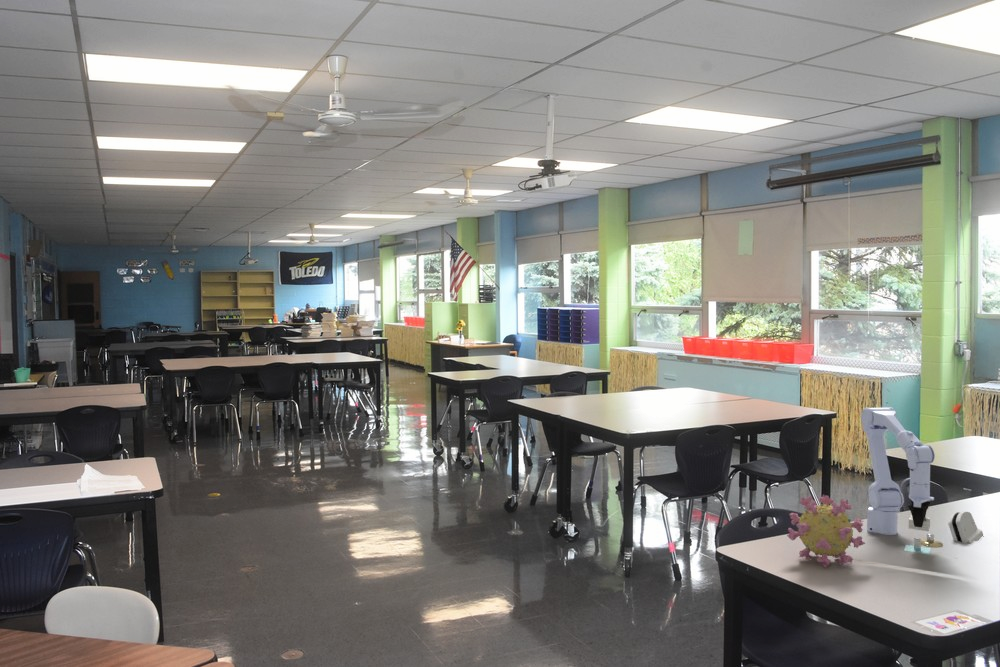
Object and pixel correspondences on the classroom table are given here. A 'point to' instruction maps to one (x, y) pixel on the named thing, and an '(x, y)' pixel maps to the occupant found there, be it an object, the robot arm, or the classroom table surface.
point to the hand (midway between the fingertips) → (919, 524)
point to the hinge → (964, 527)
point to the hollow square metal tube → (924, 527)
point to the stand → (917, 547)
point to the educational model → (825, 530)
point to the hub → (930, 541)
